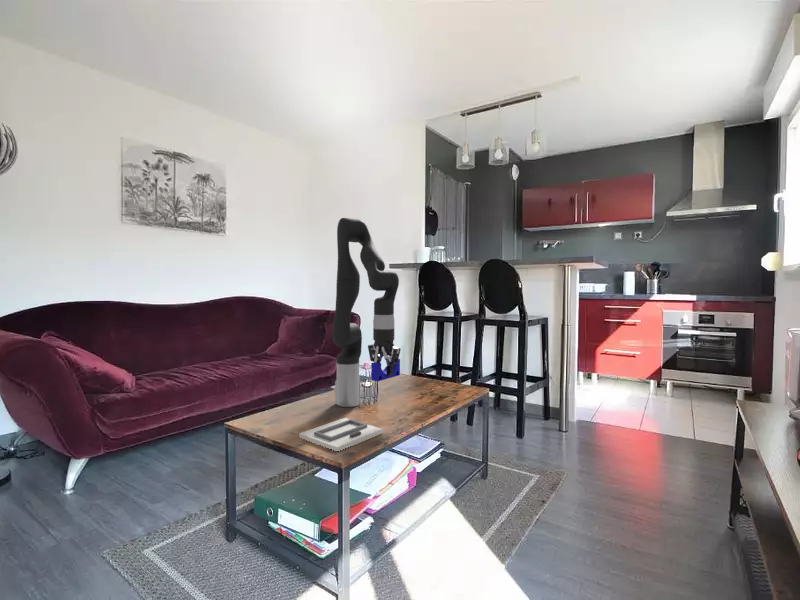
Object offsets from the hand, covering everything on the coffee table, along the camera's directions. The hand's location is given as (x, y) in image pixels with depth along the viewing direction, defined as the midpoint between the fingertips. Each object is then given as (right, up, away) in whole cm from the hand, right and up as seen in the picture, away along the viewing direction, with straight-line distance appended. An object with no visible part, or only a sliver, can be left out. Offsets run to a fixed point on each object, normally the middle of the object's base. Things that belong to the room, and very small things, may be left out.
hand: (383, 374), depth 150 cm
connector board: (-13, -18, -13) cm, 26 cm away
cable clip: (0, -1, 0) cm, 1 cm away
